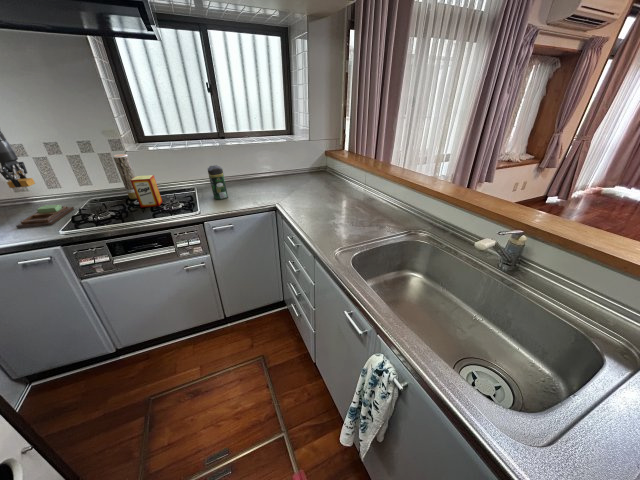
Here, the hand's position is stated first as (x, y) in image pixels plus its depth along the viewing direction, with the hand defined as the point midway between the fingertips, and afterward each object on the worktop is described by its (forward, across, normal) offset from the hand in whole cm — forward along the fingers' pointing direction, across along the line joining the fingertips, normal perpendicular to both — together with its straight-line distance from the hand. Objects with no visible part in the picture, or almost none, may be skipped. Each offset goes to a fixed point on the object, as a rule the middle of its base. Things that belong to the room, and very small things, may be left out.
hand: (22, 184), depth 136 cm
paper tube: (+16, -11, +44) cm, 48 cm away
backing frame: (+15, +10, +9) cm, 20 cm away
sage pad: (+14, +5, +9) cm, 17 cm away
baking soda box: (+16, +4, +57) cm, 59 cm away
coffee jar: (+16, +3, +94) cm, 96 cm away
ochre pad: (0, 0, 0) cm, 0 cm away
